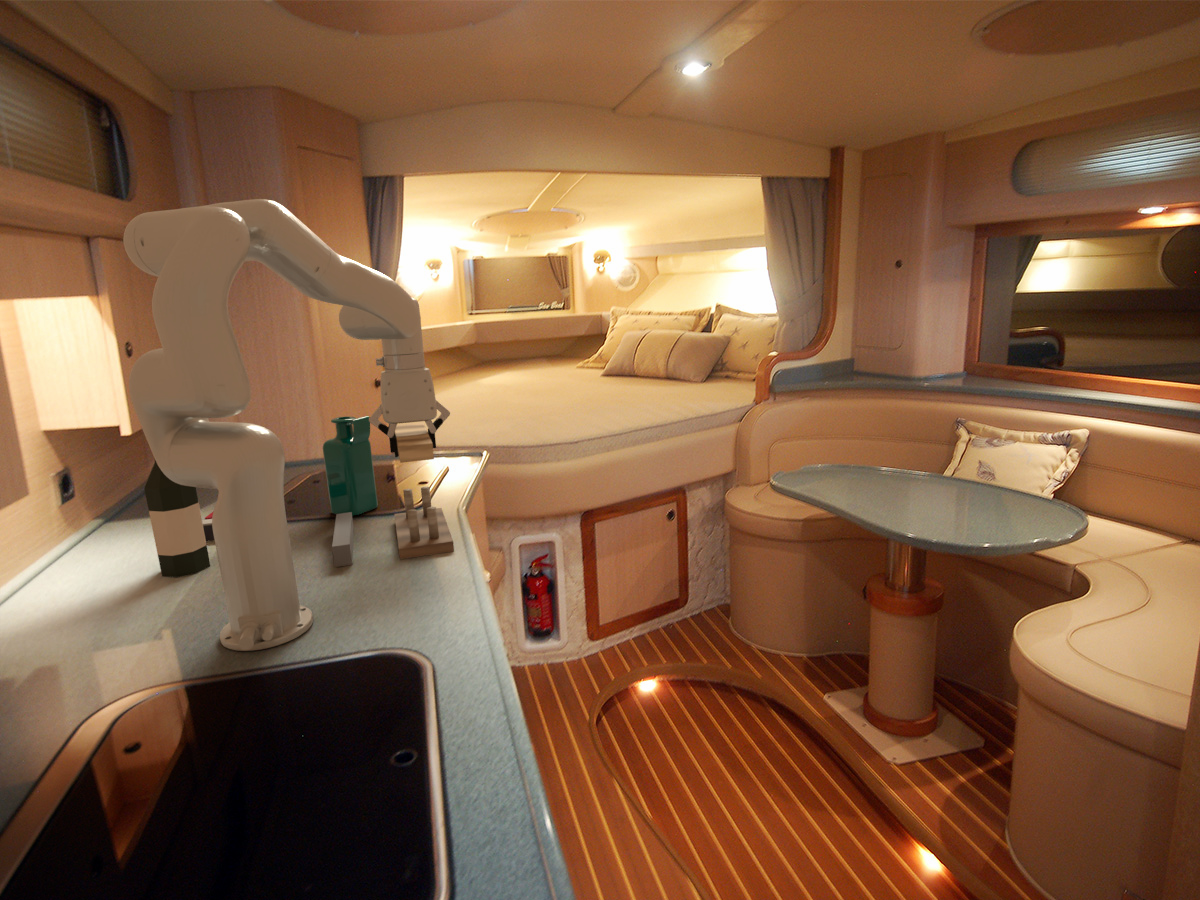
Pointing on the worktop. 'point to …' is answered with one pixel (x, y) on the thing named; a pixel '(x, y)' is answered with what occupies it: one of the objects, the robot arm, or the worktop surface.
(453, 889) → the worktop surface
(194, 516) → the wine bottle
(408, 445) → the wooden block
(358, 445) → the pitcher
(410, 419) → the robot arm
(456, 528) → the worktop surface
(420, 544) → the peg stand
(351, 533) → the block
